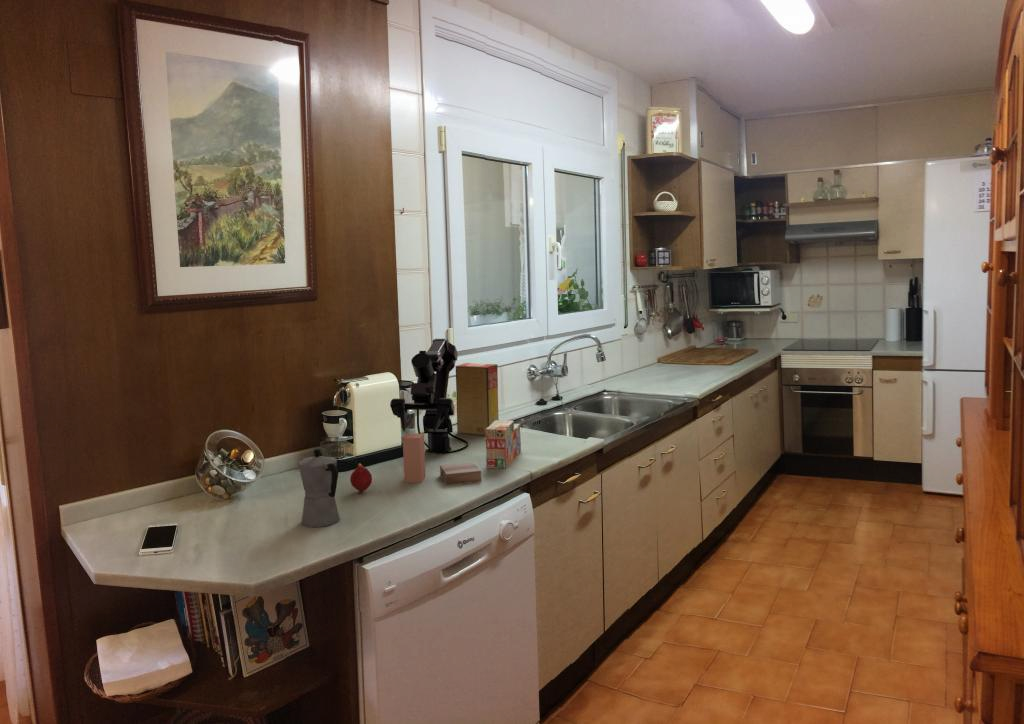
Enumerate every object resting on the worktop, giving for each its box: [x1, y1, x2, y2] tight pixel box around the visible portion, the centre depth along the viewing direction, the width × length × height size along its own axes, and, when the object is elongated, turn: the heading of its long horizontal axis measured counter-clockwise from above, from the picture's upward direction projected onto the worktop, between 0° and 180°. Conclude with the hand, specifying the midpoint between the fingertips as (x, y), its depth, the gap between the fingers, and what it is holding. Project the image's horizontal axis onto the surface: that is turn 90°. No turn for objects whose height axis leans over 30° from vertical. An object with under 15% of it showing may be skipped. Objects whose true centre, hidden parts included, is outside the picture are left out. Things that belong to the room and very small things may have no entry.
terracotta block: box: [402, 433, 427, 483], centre depth 217 cm, size 5×5×13 cm
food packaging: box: [455, 362, 499, 437], centre depth 276 cm, size 13×9×25 cm
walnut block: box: [439, 461, 482, 486], centre depth 218 cm, size 10×10×4 cm
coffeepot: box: [297, 448, 341, 528], centre depth 182 cm, size 15×9×18 cm, turn 43°
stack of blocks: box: [485, 420, 522, 469], centre depth 238 cm, size 21×6×12 cm, turn 167°
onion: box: [349, 463, 373, 493], centre depth 206 cm, size 6×6×8 cm
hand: (418, 430), depth 223 cm, fingers open, 9 cm apart
